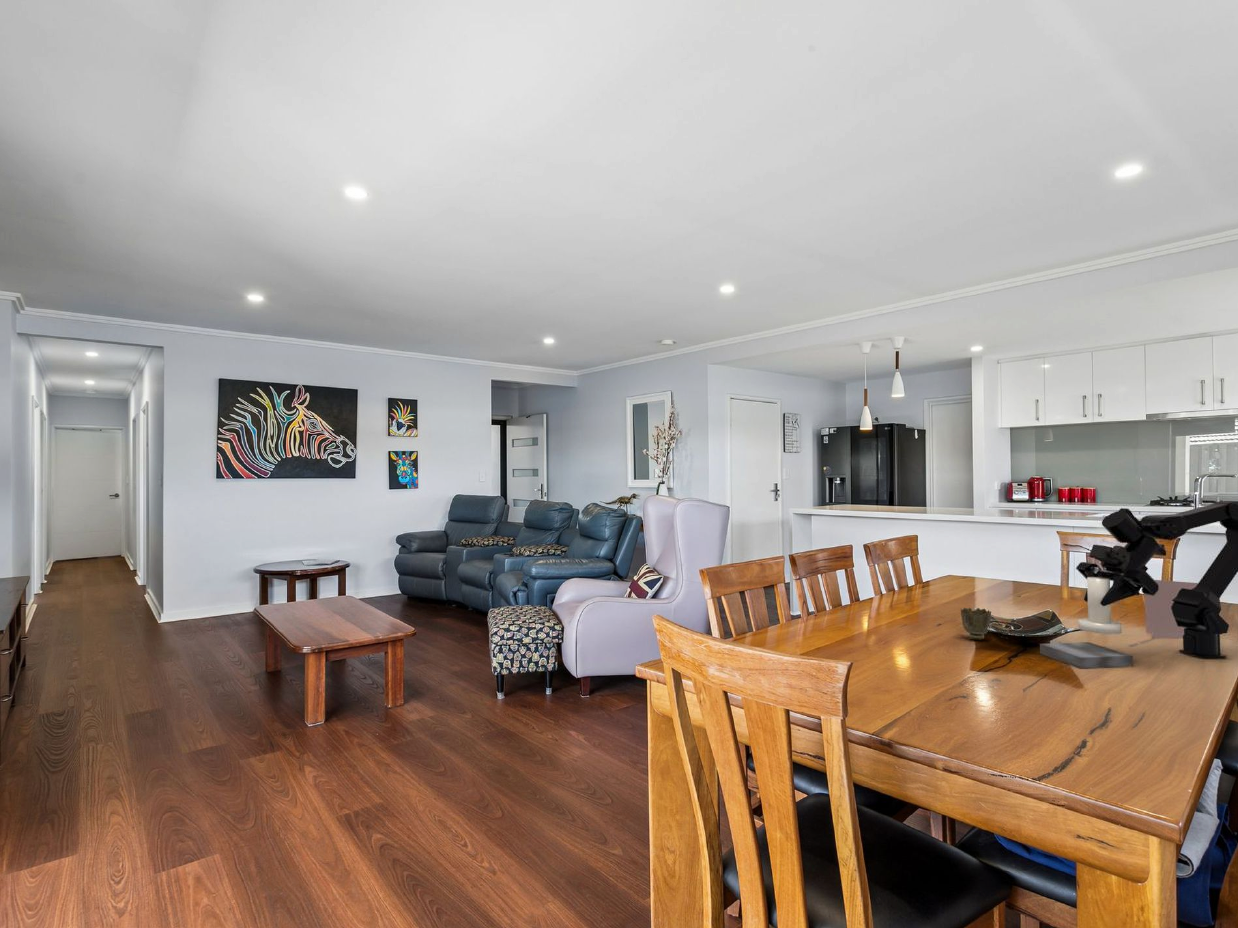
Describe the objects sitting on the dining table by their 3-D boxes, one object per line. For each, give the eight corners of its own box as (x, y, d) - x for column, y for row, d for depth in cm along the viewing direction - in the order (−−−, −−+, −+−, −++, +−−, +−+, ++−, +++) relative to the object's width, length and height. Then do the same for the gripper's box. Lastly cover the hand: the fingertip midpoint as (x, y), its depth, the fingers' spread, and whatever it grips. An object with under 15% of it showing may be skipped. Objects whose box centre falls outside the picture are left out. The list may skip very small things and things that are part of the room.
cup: (962, 641, 180) (961, 611, 180) (959, 635, 187) (959, 606, 187) (993, 643, 177) (993, 613, 178) (989, 637, 184) (989, 608, 184)
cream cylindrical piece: (1116, 627, 163) (1114, 576, 164) (1126, 635, 156) (1124, 581, 156) (1074, 624, 167) (1073, 574, 167) (1082, 632, 159) (1081, 579, 159)
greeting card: (1199, 638, 181) (1198, 582, 181) (1198, 643, 175) (1196, 586, 176) (1146, 631, 189) (1144, 578, 189) (1143, 636, 183) (1141, 581, 184)
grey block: (1088, 651, 168) (1088, 641, 168) (1133, 666, 155) (1132, 655, 155) (1040, 653, 167) (1040, 643, 167) (1081, 668, 154) (1080, 657, 154)
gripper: (1081, 530, 171) (1042, 574, 170) (1145, 536, 153) (1102, 585, 152) (1111, 560, 172) (1072, 604, 171) (1178, 570, 153) (1135, 619, 152)
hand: (1093, 602), depth 161 cm, fingers closed on cream cylindrical piece, 4 cm apart
